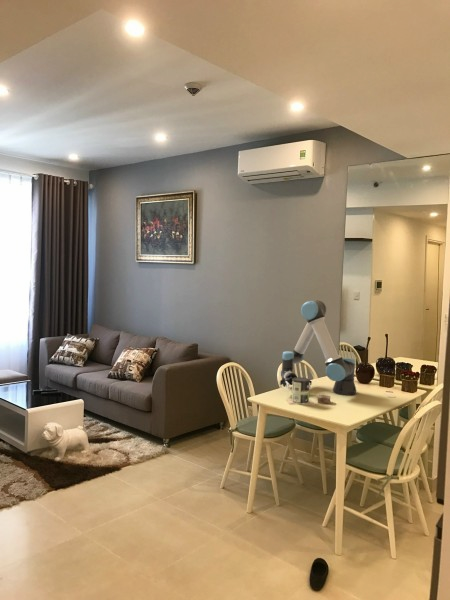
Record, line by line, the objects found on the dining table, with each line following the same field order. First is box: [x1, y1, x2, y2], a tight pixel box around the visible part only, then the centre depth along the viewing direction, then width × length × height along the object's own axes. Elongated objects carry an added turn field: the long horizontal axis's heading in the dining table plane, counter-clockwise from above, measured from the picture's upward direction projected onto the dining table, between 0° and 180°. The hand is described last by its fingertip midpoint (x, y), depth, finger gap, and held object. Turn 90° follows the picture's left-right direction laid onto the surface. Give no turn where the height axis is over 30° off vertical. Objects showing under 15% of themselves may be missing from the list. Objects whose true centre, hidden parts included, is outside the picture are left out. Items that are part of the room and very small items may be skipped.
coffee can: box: [291, 376, 311, 404], centre depth 293 cm, size 10×10×14 cm
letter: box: [285, 399, 317, 406], centre depth 293 cm, size 16×12×1 cm
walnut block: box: [317, 394, 331, 405], centre depth 294 cm, size 7×7×4 cm
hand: (299, 385), depth 299 cm, fingers open, 13 cm apart
